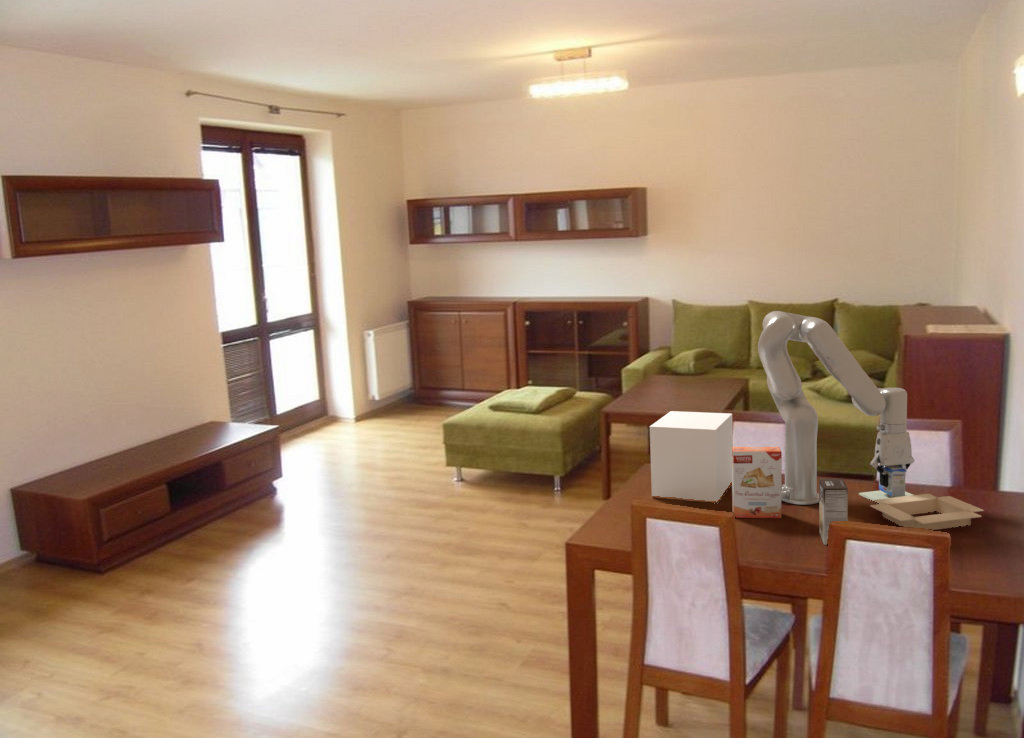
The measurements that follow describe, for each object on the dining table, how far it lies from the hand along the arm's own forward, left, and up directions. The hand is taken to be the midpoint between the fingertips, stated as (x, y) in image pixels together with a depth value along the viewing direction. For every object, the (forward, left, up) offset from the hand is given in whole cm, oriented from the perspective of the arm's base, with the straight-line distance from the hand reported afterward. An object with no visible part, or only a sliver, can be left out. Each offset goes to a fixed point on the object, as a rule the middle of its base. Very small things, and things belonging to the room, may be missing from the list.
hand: (891, 484), depth 261 cm
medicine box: (0, 0, -3) cm, 3 cm away
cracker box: (-46, -1, -5) cm, 46 cm away
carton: (-4, -21, -5) cm, 22 cm away
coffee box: (-36, -26, -5) cm, 45 cm away
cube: (-53, +30, -5) cm, 61 cm away
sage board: (0, 0, -5) cm, 5 cm away
